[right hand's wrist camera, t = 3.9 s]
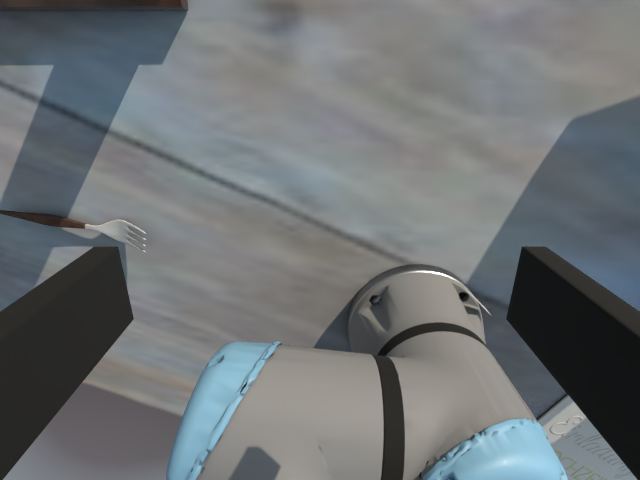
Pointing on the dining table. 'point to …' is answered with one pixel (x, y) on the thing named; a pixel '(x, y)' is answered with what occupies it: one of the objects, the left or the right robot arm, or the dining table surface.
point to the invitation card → (581, 445)
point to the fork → (84, 226)
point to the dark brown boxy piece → (93, 5)
